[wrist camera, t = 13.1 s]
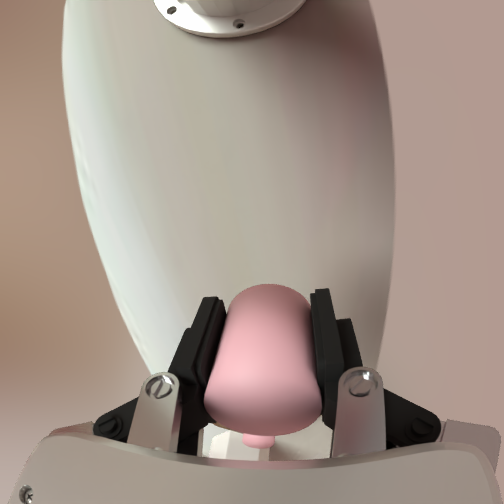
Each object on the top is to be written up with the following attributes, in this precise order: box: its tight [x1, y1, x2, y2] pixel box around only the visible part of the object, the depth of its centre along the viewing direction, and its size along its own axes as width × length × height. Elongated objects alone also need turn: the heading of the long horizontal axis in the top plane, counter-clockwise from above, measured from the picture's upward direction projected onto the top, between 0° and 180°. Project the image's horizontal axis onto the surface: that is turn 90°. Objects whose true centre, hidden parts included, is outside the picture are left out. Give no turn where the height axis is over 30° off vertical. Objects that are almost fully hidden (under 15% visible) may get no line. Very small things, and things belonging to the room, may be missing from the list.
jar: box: [208, 430, 270, 461], centre depth 32 cm, size 9×8×12 cm
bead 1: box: [204, 284, 322, 436], centre depth 10 cm, size 4×4×4 cm
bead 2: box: [242, 433, 275, 449], centre depth 29 cm, size 4×4×4 cm
